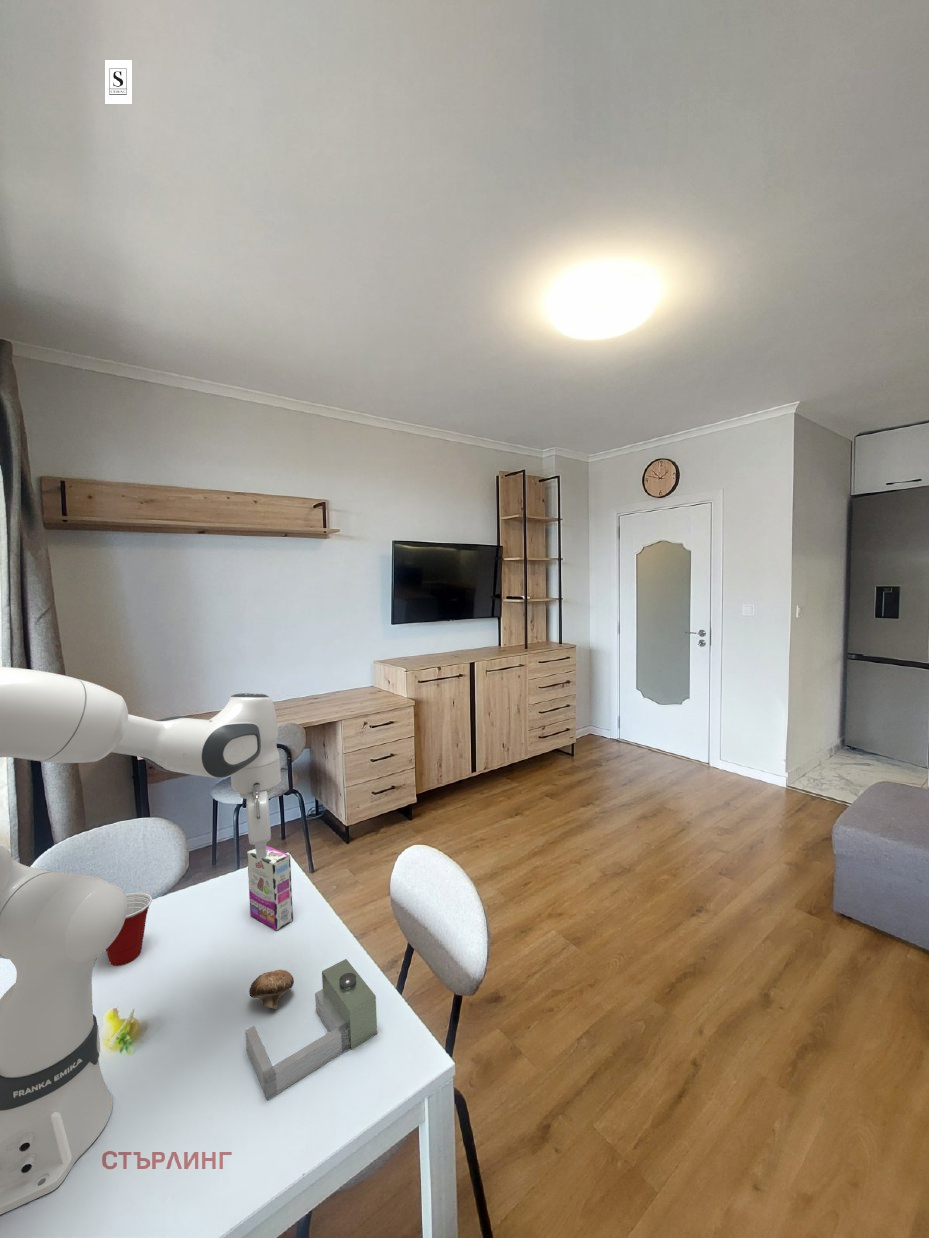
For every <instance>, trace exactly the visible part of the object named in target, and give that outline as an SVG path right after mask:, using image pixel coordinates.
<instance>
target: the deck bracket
mask: <svg viewBox="0 0 929 1238" xmlns="http://www.w3.org/2000/svg"><path fill="white" fill-rule="evenodd" d="M321 980H322V983H321V984H322V988H321V989H320V990H318V991H317V992H315V993H314V996H315V997H314V998H315V1012H316V1013H317V1015H318V1017H319V1018H320V1020H321V1021H322V1023H323V1025H324V1026H325V1028H326V1029H327V1031H328V1033H326V1034H324V1035H323V1036H321V1037H319V1038H318V1039H316V1040H314V1041H313V1042H311V1043H309V1044H308V1045H306V1046H304V1047H303V1048H301V1049H299V1050H297V1051H296V1052H294V1053H292V1054H291V1055H290V1056H288V1057H285V1058H284V1059H283V1060H281V1061H279V1062H278V1063H276V1064H274V1065H273V1064H272V1061H271V1059H270V1057H269V1055H268V1053H267V1050H266V1048H265V1046H264V1043H263V1042H262V1039H261V1037H260V1035H259V1033H258V1030H257V1029H256V1025H252V1026H251V1027H249V1028H247V1029H245V1030H244V1031H245V1047H246V1052H247V1054H248V1058H249V1059H250V1061H251V1064H252V1067H253V1069H254V1071H255V1074H256V1077H257V1079H258V1082H259V1085H260V1086H261V1089H262V1092H263V1094H264V1095H265V1099H266V1101H269V1100H270V1099H271V1098H273V1097H275V1096H276V1095H278V1094H279V1093H281V1092H283V1091H284V1090H286V1089H288V1088H289V1087H291V1086H292V1085H294V1084H295V1083H297V1082H299V1081H300V1080H301V1079H303V1078H305V1077H306V1076H308V1075H309V1074H311V1073H313V1072H315V1071H317V1070H318V1069H320V1067H322V1066H324V1065H325V1064H327V1063H329V1062H330V1061H332V1060H334V1059H335V1058H337V1057H338V1056H340V1055H342V1054H343V1053H344V1052H346V1051H348V1050H351V1051H352V1050H354V1049H355V1048H357V1047H358V1046H360V1045H361V1044H363V1043H364V1042H366V1041H368V1040H369V1039H371V1038H372V1037H374V1036H376V1035H377V1034H378V1021H377V1019H378V1018H377V997H376V996H377V995H376V994H375V993H374V992H373V990H372V989H371V988H370V987H369V985H368V984H367V983H366V982H365V980H364V979H363V977H362V976H360V974H359V973H358V972H357V970H356V969H355V968H354V966H353V965H352V964H351V963H350V961H348V959H347V958H345V959H343V960H341V961H339V962H337V963H336V964H333V965H331V966H329V967H327V968H326V969H323V970H322V971H321Z"/></svg>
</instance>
